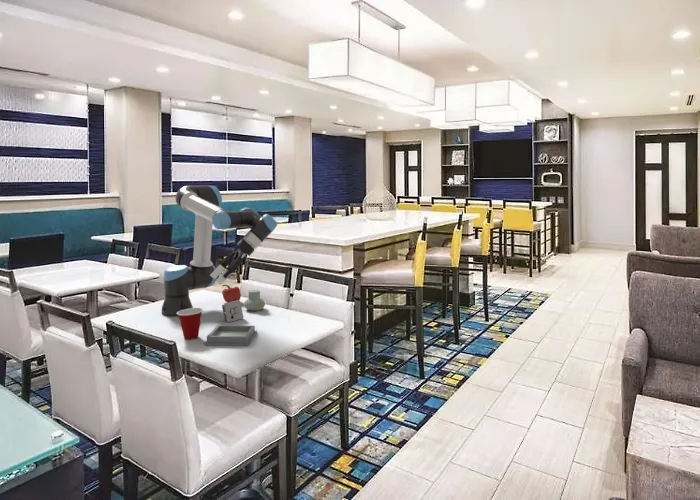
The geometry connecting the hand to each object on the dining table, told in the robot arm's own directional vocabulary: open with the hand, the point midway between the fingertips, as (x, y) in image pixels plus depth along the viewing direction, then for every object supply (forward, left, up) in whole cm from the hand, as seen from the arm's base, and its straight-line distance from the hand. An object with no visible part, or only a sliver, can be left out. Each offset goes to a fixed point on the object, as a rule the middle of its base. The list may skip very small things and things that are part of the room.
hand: (215, 280), depth 213 cm
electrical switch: (-24, +1, -25) cm, 34 cm away
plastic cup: (+4, -10, -25) cm, 27 cm away
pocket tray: (+5, +8, -24) cm, 26 cm away
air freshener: (-44, +8, -25) cm, 51 cm away
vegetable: (-58, -8, -25) cm, 63 cm away
